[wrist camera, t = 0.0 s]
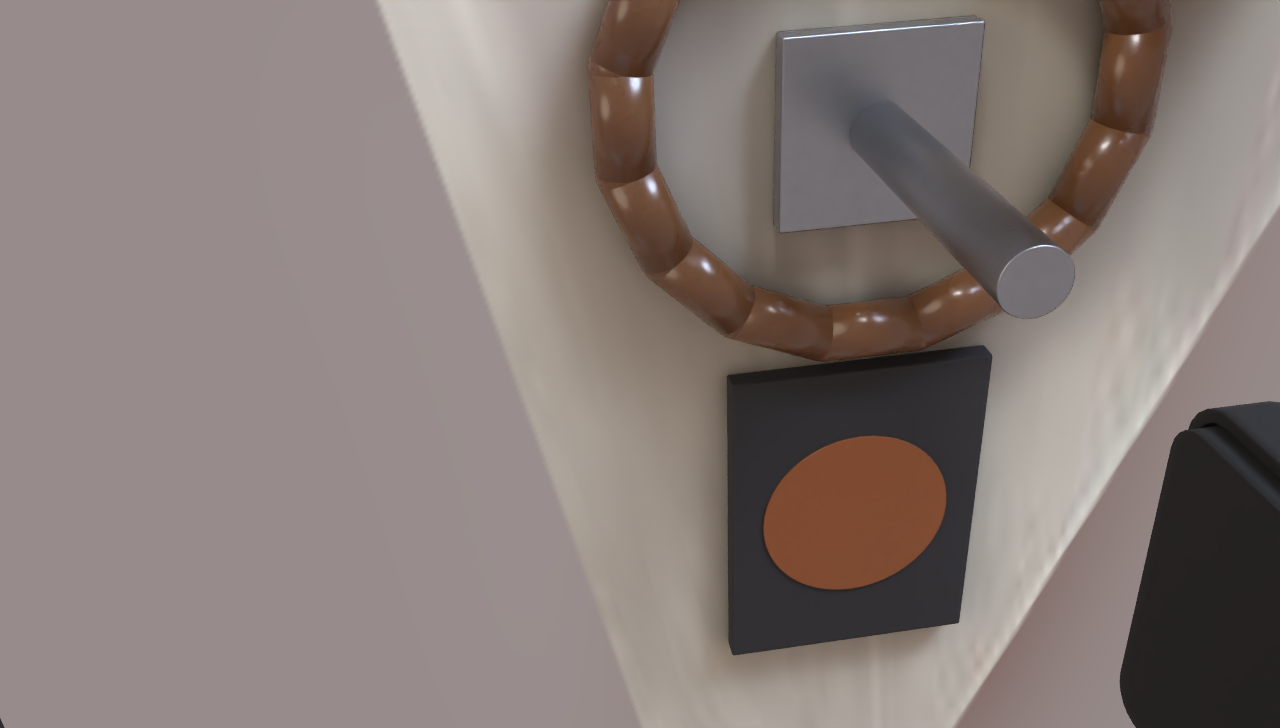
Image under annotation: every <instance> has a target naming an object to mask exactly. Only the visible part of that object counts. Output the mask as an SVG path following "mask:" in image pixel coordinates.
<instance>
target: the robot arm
mask: <svg viewBox="0 0 1280 728" xmlns="http://www.w3.org/2000/svg"><path fill="white" fill-rule="evenodd" d="M1120 690H1121V695H1122V699H1123V703H1124V706H1125V708H1126V711H1127V713H1128V715H1129V717H1130V719H1131V721H1132V723H1133V724H1134V725H1135V727H1136V728H1280V403H1279V402H1271V401H1269V402H1260V403H1252V404H1244V405H1236V406H1228V407H1220V408H1212V409H1206V410H1204V411H1202V412H1199V413H1198V414H1197V415H1196V416H1195V418H1194V419H1193V420H1192V421H1191V424H1190V426H1189V429H1188V430H1185V431H1183V432H1180V433H1179V434H1178V435H1177V436H1176V437H1175V439H1174V441H1173V444H1172V446H1171V450H1170V455H1169V459H1168V463H1167V468H1166V472H1165V477H1164V481H1163V486H1162V490H1161V494H1160V499H1159V503H1158V508H1157V512H1156V517H1155V522H1154V526H1153V530H1152V535H1151V539H1150V544H1149V548H1148V552H1147V557H1146V561H1145V566H1144V570H1143V575H1142V580H1141V584H1140V588H1139V592H1138V597H1137V601H1136V606H1135V610H1134V615H1133V619H1132V624H1131V628H1130V633H1129V638H1128V641H1127V646H1126V650H1125V655H1124V659H1123V664H1122V668H1121V673H1120ZM0 728H4V726H3V724H2V722H1V719H0Z"/></svg>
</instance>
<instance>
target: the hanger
mask: <svg viewBox="0 0 1280 728" xmlns="http://www.w3.org/2000/svg"><path fill="white" fill-rule="evenodd" d="M984 28H985V21H984V20H982V19H980V18H979V17H977V16H975V15H973V16H961V17H950V18H938V19H926V20H914V21H902V22H890V23H878V24H866V25H854V26H842V27H830V28H818V29H806V30H794V31H782V32H777V34H776V92H775V155H774V217H773V224H774V226H775V227H776V229H777V230H778V232H779V233H788V232H798V231H807V230H817V229H827V228H836V227H846V226H856V225H865V224H875V223H885V222H894V221H904V220H914V219H919V220H920V221H921V222H922V223H923V224H924V225H925V227H926V228H927V229H928V230H929V231H930V232H931V233H932V234H933V235H934V236H935V237H936V238H937V239H938V240H939V241H940V243H941V244H942V245H943V246H944V247H945V248H946V249H947V250H948V251H949V252H950V253H951V254H952V255H953V256H954V258H955V259H956V260H957V261H958V262H959V263H960V264H961V265H962V266H963V267H964V268H965V269H966V270H967V271H968V272H969V274H970V275H971V276H972V277H973V278H974V279H975V280H976V281H977V282H978V283H979V284H980V285H981V286H982V287H983V289H984V290H985V291H986V292H987V293H988V294H989V295H990V296H991V297H992V298H993V299H994V300H995V301H996V302H997V303H998V305H999V306H1000V307H1001V308H1002V309H1003V310H1004V311H1005V312H1006V313H1008V314H1009V315H1011V316H1013V317H1016V318H1021V319H1032V318H1037V317H1041V316H1043V315H1046V314H1048V313H1049V312H1051V311H1053V310H1054V309H1056V308H1057V307H1058V306H1059V305H1060V304H1061V303H1062V302H1063V301H1064V300H1065V299H1066V297H1067V296H1068V294H1069V293H1070V291H1071V289H1072V286H1073V283H1074V278H1075V268H1074V264H1073V261H1072V259H1071V257H1070V256H1069V255H1068V253H1067V252H1065V251H1064V250H1063V249H1062V248H1061V247H1060V246H1059V245H1057V244H1056V243H1055V242H1054V241H1053V240H1052V239H1051V238H1049V237H1048V236H1047V235H1046V234H1045V233H1044V232H1042V231H1041V230H1040V229H1039V228H1038V227H1037V226H1036V225H1034V224H1033V223H1032V222H1031V221H1030V220H1029V219H1028V218H1026V217H1025V216H1024V215H1023V214H1022V213H1021V212H1020V211H1018V210H1017V209H1016V208H1015V207H1014V206H1013V205H1012V204H1010V203H1009V202H1008V201H1007V200H1006V199H1005V198H1003V197H1002V196H1001V195H1000V194H999V193H998V192H997V191H995V190H994V189H993V188H992V187H991V186H990V185H989V184H987V183H986V182H985V181H984V180H983V179H982V178H981V177H979V176H978V175H977V174H976V173H975V172H974V171H973V170H971V169H970V162H971V153H972V143H973V134H974V124H975V114H976V105H977V95H978V86H979V76H980V67H981V57H982V48H983V38H984Z"/></svg>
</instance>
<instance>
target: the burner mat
mask: <svg viewBox="0 0 1280 728" xmlns="http://www.w3.org/2000/svg"><path fill="white" fill-rule="evenodd" d="M991 363H992V355H991V353H990V352H989V351H988V350H987V349H986V348H985V346H976V347H967V348H959V349H950V350H942V351H933V352H924V353H916V354H907V355H899V356H890V357H881V358H873V359H864V360H856V361H847V362H839V363H830V364H821V365H813V366H804V367H796V368H787V369H779V370H770V371H761V372H753V373H744V374H736V375H728V376H727V436H728V601H729V645H730V648H731V651H732V654H733V655H740V654H747V653H754V652H761V651H768V650H775V649H782V648H789V647H796V646H803V645H809V644H816V643H823V642H830V641H837V640H844V639H851V638H858V637H865V636H872V635H879V634H886V633H893V632H900V631H907V630H914V629H921V628H928V627H935V626H941V625H948V624H955V623H959V618H960V610H961V602H962V594H963V586H964V578H965V570H966V562H967V554H968V546H969V538H970V530H971V522H972V514H973V506H974V498H975V490H976V482H977V475H978V467H979V459H980V451H981V443H982V435H983V427H984V419H985V411H986V403H987V395H988V387H989V379H990V371H991Z"/></svg>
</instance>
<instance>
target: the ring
mask: <svg viewBox="0 0 1280 728" xmlns="http://www.w3.org/2000/svg"><path fill="white" fill-rule="evenodd" d="M679 1H680V0H609V1H608V4H607V7H606V10H605V13H604V16H603V19H602V22H601V25H600V28H599V31H598V34H597V37H596V40H595V43H594V46H593V49H592V52H591V55H590V58H589V62H588V76H589V91H590V106H591V122H592V137H593V152H594V167H595V177H596V182H597V184H598V186H599V188H600V190H601V192H602V194H603V196H604V198H605V200H606V202H607V204H608V206H609V207H610V209H611V211H612V213H613V215H614V217H615V219H616V221H617V223H618V225H619V227H620V229H621V230H622V232H623V234H624V236H625V238H626V240H627V242H628V244H629V246H630V248H631V250H632V251H633V253H634V255H635V257H636V259H637V261H638V263H639V265H640V267H641V269H642V271H643V272H644V273H645V275H646V276H647V277H648V278H649V279H650V280H651V281H653V282H654V283H655V284H657V285H658V286H659V287H661V288H662V289H663V290H664V291H666V292H667V293H668V294H670V295H671V296H672V297H673V298H675V299H676V300H677V301H679V302H680V303H681V304H682V305H684V306H685V307H686V308H688V309H689V310H690V311H691V312H693V313H694V314H695V315H697V316H698V317H699V318H700V319H702V320H703V321H704V322H706V323H707V324H708V325H709V326H711V327H712V328H713V329H715V330H716V331H717V332H718V333H720V334H721V335H723V336H725V337H727V338H729V339H733V340H737V341H741V342H745V343H748V344H752V345H756V346H760V347H764V348H768V349H772V350H776V351H780V352H783V353H787V354H791V355H795V356H799V357H803V358H807V359H811V360H815V361H821V362H825V361H835V360H843V359H852V358H861V357H869V356H878V355H886V354H895V353H904V352H912V351H919V350H923V349H926V348H928V347H930V346H932V345H934V344H936V343H938V342H940V341H942V340H945V339H947V338H949V337H951V336H953V335H955V334H957V333H959V332H961V331H963V330H966V329H968V328H970V327H972V326H974V325H976V324H978V323H980V322H982V321H985V320H987V319H989V318H991V317H993V316H995V315H997V314H999V313H1001V312H1003V311H1004V310H1003V309H1002V308H1001V307H1000V306H999V305H998V303H997V302H996V301H995V300H994V299H993V298H992V297H991V296H990V295H989V294H988V293H987V292H986V291H985V290H984V289H983V287H982V286H981V285H980V284H979V283H978V282H977V281H976V280H975V279H974V278H973V277H972V276H971V275H970V274H969V272H968V271H967V270H966V269H965V268H964V269H962V270H960V271H958V272H956V273H954V274H952V275H950V276H948V277H946V278H943V279H941V280H939V281H937V282H935V283H933V284H931V285H929V286H927V287H925V288H923V289H921V290H918V291H916V292H914V293H912V294H910V295H908V296H906V297H897V298H888V299H879V300H870V301H861V302H852V303H843V304H834V305H822V304H818V303H814V302H811V301H807V300H803V299H800V298H796V297H793V296H789V295H785V294H782V293H778V292H774V291H771V290H767V289H763V288H760V287H756V286H752V285H750V284H749V283H748V282H747V281H745V280H744V279H743V278H742V277H741V276H739V275H738V274H737V273H736V272H734V271H733V270H732V269H731V268H730V267H728V266H727V265H726V264H725V263H723V262H722V261H721V260H720V259H718V258H717V257H716V256H715V255H714V254H712V253H711V252H710V251H709V250H707V249H706V248H705V247H704V246H703V245H701V244H700V243H699V242H698V241H696V240H695V239H694V238H693V237H692V236H691V234H690V232H689V230H688V228H687V225H686V223H685V221H684V219H683V217H682V215H681V213H680V211H679V209H678V207H677V205H676V203H675V201H674V199H673V197H672V195H671V193H670V191H669V188H668V186H667V184H666V182H665V180H664V178H663V176H662V174H661V172H660V170H659V168H658V166H657V163H656V136H655V109H654V82H653V72H654V70H655V67H656V64H657V61H658V59H659V56H660V53H661V50H662V48H663V45H664V42H665V39H666V36H667V34H668V31H669V28H670V25H671V23H672V20H673V17H674V14H675V12H676V9H677V6H678V3H679ZM1099 5H1100V9H1101V13H1102V17H1103V21H1104V25H1105V32H1104V38H1103V45H1102V51H1101V58H1100V64H1099V70H1098V77H1097V83H1096V90H1095V96H1094V102H1093V109H1092V115H1091V119H1090V120H1089V122H1088V124H1087V126H1086V128H1085V130H1084V132H1083V133H1082V135H1081V137H1080V139H1079V141H1078V143H1077V145H1076V146H1075V148H1074V150H1073V152H1072V154H1071V156H1070V158H1069V159H1068V161H1067V163H1066V165H1065V167H1064V169H1063V171H1062V172H1061V174H1060V176H1059V178H1058V180H1057V182H1056V184H1055V185H1054V187H1053V189H1052V191H1051V193H1050V195H1049V197H1048V198H1047V199H1046V200H1045V201H1044V202H1043V203H1042V204H1041V205H1040V206H1038V207H1037V208H1036V209H1035V210H1034V211H1033V212H1032V213H1031V214H1030V215H1029V216H1028V217H1027V218H1028V219H1029V220H1030V221H1031V222H1032V223H1033V224H1034V225H1036V226H1037V227H1038V228H1039V229H1040V230H1041V231H1042V232H1044V233H1045V234H1046V235H1047V236H1048V237H1049V238H1051V239H1052V240H1053V241H1054V242H1055V243H1056V244H1057V245H1059V246H1060V247H1061V248H1062V249H1063V250H1064V251H1065V252H1067V253H1068V255H1069V256H1070V255H1071V254H1072V253H1073V252H1074V251H1075V250H1077V249H1078V248H1079V247H1080V246H1081V245H1082V244H1083V243H1084V242H1085V241H1086V240H1087V239H1088V238H1089V237H1090V236H1092V235H1093V234H1094V232H1095V231H1096V230H1097V229H1098V227H1099V226H1100V224H1101V222H1102V221H1103V219H1104V217H1105V215H1106V214H1107V212H1108V210H1109V208H1110V207H1111V205H1112V203H1113V201H1114V199H1115V198H1116V196H1117V194H1118V192H1119V191H1120V189H1121V187H1122V185H1123V184H1124V182H1125V180H1126V178H1127V177H1128V175H1129V173H1130V171H1131V169H1132V168H1133V166H1134V164H1135V162H1136V161H1137V159H1138V157H1139V155H1140V154H1141V152H1142V150H1143V148H1144V146H1145V145H1146V143H1147V141H1148V139H1149V138H1150V136H1151V133H1152V131H1153V127H1154V121H1155V116H1156V111H1157V105H1158V100H1159V94H1160V89H1161V84H1162V78H1163V73H1164V67H1165V62H1166V56H1167V51H1168V46H1169V40H1170V35H1171V29H1172V23H1173V18H1172V11H1171V6H1170V1H1169V0H1099Z"/></svg>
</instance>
